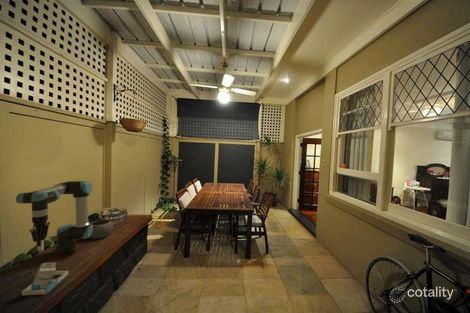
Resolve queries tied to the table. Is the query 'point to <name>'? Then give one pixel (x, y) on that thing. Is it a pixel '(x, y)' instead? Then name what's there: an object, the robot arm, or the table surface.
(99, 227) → the bowl
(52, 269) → the ink box
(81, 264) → the table surface
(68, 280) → the table surface
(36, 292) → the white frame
